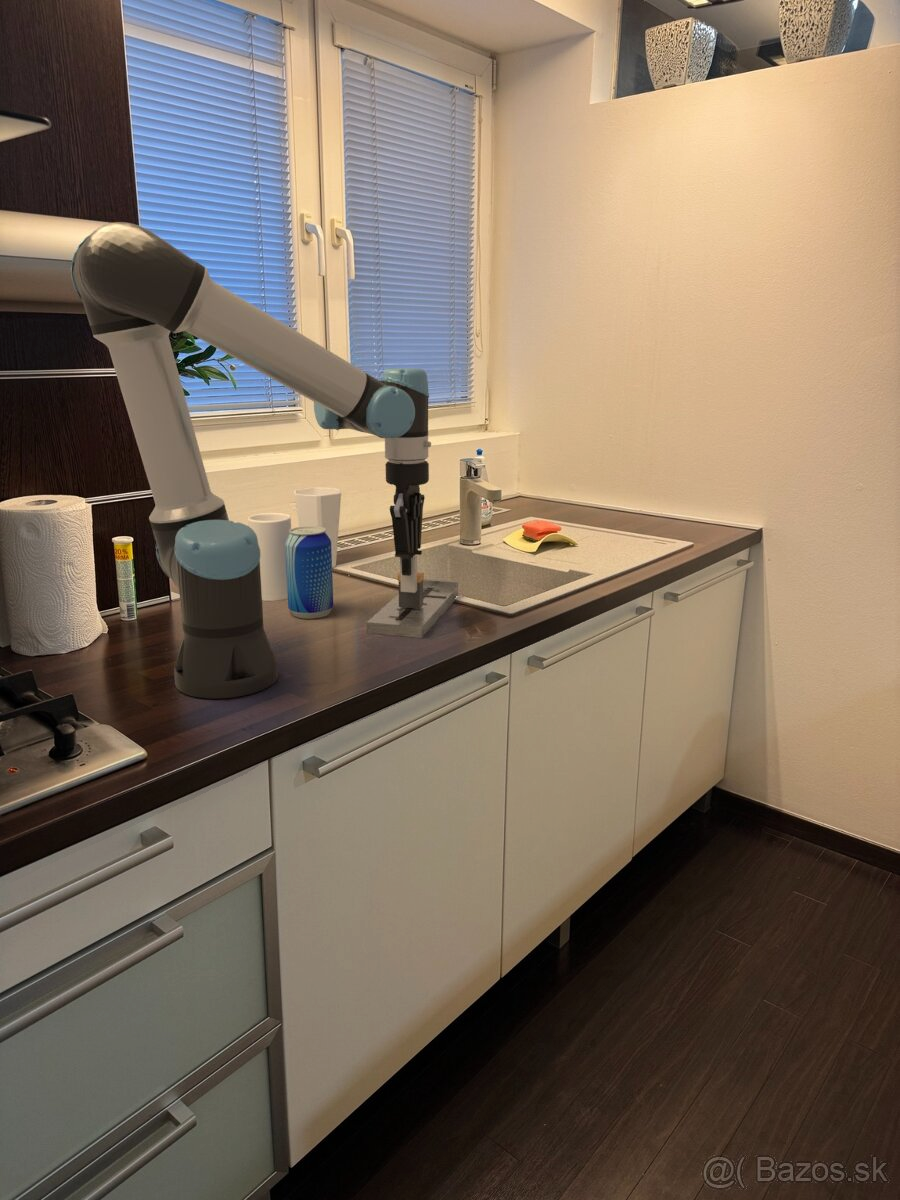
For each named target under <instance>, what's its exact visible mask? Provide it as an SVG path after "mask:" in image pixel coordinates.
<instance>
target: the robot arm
mask: <svg viewBox="0 0 900 1200" xmlns="http://www.w3.org/2000/svg"><path fill="white" fill-rule="evenodd" d="M208 270H209V269H208V268H207V267H205V266H204V265H202V264H200V263H199V262H198V261H196V260H194V259H193V258H192V257H190V256H188V255H187V254H185V253H183V252H182V251H181V250H179V249H178V248H176V247H175V246H173V245H171V244H170V243H169V242H167V241H166V240H164V239H162V237H159V236H158V235H157V234H156V233H154V232H152V231H151V230H149V229H147V228H145V227H143V226H141V225H138V224H135V223H133V222H132V223H131V222H124V221H117V222H116V221H115V222H110V223H106V224H104V225H103V224H102V225H101V226H100V227H98V228H96V229H95V230H93V232H91V233H90V234H89V235H87V236H86V237H84V239H83V240H82V241H81V242H80V243H79V244H78V245H77V247H76V249H75V252H74V253H73V255H72V260H71V265H70V275H71V281H72V285H73V288H74V290H75V292H76V294H77V295H78V297H79V299H80V300H81V302H82V304H83V307H84V310H85V313H86V316H87V320H88V323H89V326H90V329H91V332H92V336H93V338H95V339H96V340H98V341H99V342H101V343H103V344H104V345H105V346H106V347H107V348H108V351H109V354H110V358H111V361H112V364H113V368H114V371H115V374H116V375H115V376H116V377H117V381H118V385H119V388H120V392H121V394H122V397H123V398H122V399H123V401H124V404H125V407H126V411H127V414H128V417H129V420H130V424H131V427H132V431H133V434H134V438H135V441H136V445H137V447H138V451H139V454H140V458H141V461H142V465H143V467H144V472H145V474H146V478H147V481H148V484H149V488H150V491H151V494H152V497H153V501H154V504H155V506H154V508H153V510H152V511H151V513H150V515H149V517H148V520H149V523H150V526H151V529H152V532H153V536H154V540H155V550H156V551H155V554H156V558H157V561H158V563H159V566H160V567H161V569H162V571H163V572H164V574H165V575H166V576H167V577H168V578H169V579H170V580H171V581H172V582H173V583H174V585H175V586H176V587H177V589H178V594H179V601H180V612H181V613H180V614H181V625H182V639H181V642H180V646H179V650H178V654H177V657H176V662H175V666H174V669H173V670H174V672H173V673H174V675H173V676H174V684H175V687H176V689H177V690H178V691H179V692H180V693H182V694H184V695H186V696H191V697H194V698H199V699H200V698H202V699H230V698H237V697H243V696H247V695H252V694H255V693H258V692H261V691H263V690H265V689H268V688H269V687H270V686H273V685H274V684H275V683H276V682H277V680H278V678H279V669H278V667H279V664H278V660H277V657H276V656H275V653H274V650H273V648H272V645H271V643H270V640H269V638H268V635H267V633H266V631H265V628H264V627H265V626H264V614H263V613H264V612H263V600H262V592H261V575H260V548H259V545H258V539H257V535H256V533H255V532H254V531H253V530H252V529H251V528H250V527H249V526H248V525H246V524H244V523H242V522H234V521H233V520H229V516H228V511H227V508H226V504H225V501H224V498H221V497H219V496H218V495H216V494H214V493H213V491H211V490H212V489H211V487H210V483H209V480H208V476H207V472H206V468H205V466H204V462H203V458H202V454H201V450H200V448H199V444H198V440H197V435H196V433H195V429H194V425H193V421H192V418H191V415H190V411H189V410H190V409H189V407H188V403H187V399H186V396H185V393H184V392H185V391H184V389H183V385H182V381H181V378H180V374H179V371H178V370H179V369H178V367H177V363H176V359H175V356H174V352H173V348H172V344H171V341H170V337H169V336H170V333H172V334H177V333H181V332H187V333H189V334H190V335H192V336H194V337H196V338H197V339H199V340H201V341H203V342H205V343H206V344H208V345H210V346H212V347H214V348H216V349H217V350H220V351H221V352H223V353H225V354H227V355H228V356H230V357H232V358H233V359H236V360H237V361H240V362H241V363H243V364H244V365H247V366H248V367H250V368H252V369H253V370H256V371H257V372H259V373H261V374H262V375H265V376H266V377H268V378H270V379H272V380H274V381H276V382H277V383H279V384H281V385H282V386H284V387H286V388H289V389H290V390H291V391H293V392H296V393H298V394H299V395H300V396H303V397H305V398H306V399H308V400H310V401H312V402H313V411H314V417H315V419H316V422H317V424H318V426H319V427H320V428H322V429H323V430H336V431H339V430H354V431H357V432H361V433H365V434H369V435H374V436H376V437H378V438H380V439H384V458H385V459H386V460H388V461H387V462H385V482H386V483H387V484H389V485H392V486H395V491H394V495H393V504H394V505H390V506H389V513H390V517H391V523H392V532H393V542H394V543H393V544H394V551H395V553H394V557H395V558H399V567H400V568H399V569H400V572H399V573H400V582H401V592H412V593H415V592H416V591H417V572H418V555H419V556H421V555H422V553H423V550H420V549H421V547H422V531H423V528H422V527H423V516H424V515H423V513H424V511H423V510H424V503H425V497H426V496H425V494H422V493H420V491H421V489H420V486H423V485H425V484H427V483H428V482H429V480H430V464H429V462H428V461H427V460H426V459H428V458H429V448H431V447H432V442H431V441H429V398H430V394H429V393H430V392H429V381H428V374H427V372H426V371H425V370H424V369H422V368H416V367H414V368H413V367H412V368H411V367H402V368H401V367H396V368H394V367H393V368H386V369H385V370H384V371H383V376H382V378H381V379H382V380H378V379H377V378H375V377H373V376H372V375H370V374H368V373H367V372H365V371H363V370H362V369H361V368H359V367H357V366H356V365H354V364H351V363H350V362H348V361H347V360H345V359H343V358H342V357H341V356H339V355H337V354H336V353H334V352H333V351H330V350H329V349H327V348H326V347H324V346H322V345H320V344H318V343H317V342H315V341H313V340H312V339H311V338H309V337H307V336H306V335H304V334H302V333H301V332H299V331H297V330H295V329H294V328H292V327H290V326H288V325H287V324H285V323H284V322H282V321H280V320H279V319H277V318H275V317H274V316H272V315H271V314H268V313H267V312H265V311H263V309H260V308H259V307H257V306H255V305H253V304H252V303H250V302H248V301H247V300H246V299H244V298H242V297H240V296H239V295H237V294H235V293H234V292H232V291H230V290H229V289H227V288H225V287H224V286H222V285H221V284H218V283H217V282H216V281H213V279H211V276H210V273H209V271H208Z"/></svg>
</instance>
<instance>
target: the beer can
mask: <svg viewBox="0 0 900 1200" xmlns="http://www.w3.org/2000/svg"><path fill="white" fill-rule="evenodd" d="M325 531H326V529H325V528H322V527H316V526H303V527H299V526H297V527H291V529H290V531H289V532H290V534H289V536H288V538H287V540H286V541H285V555H286V574H287V594H288V599H287V608H288V610H289V611H290V612H291V613H292V616H293V617H295V618H298V619H304V620H305V619H308V620H309V619H311V620H312V619H319V618H320V619H321V618H324V617H326V616H328V615H329V614H330V613H331V610H332V609H333V608H334V584H333V568H332V550H331V540H330V538H329V537H328V535H327V534H326V532H325Z"/></svg>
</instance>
